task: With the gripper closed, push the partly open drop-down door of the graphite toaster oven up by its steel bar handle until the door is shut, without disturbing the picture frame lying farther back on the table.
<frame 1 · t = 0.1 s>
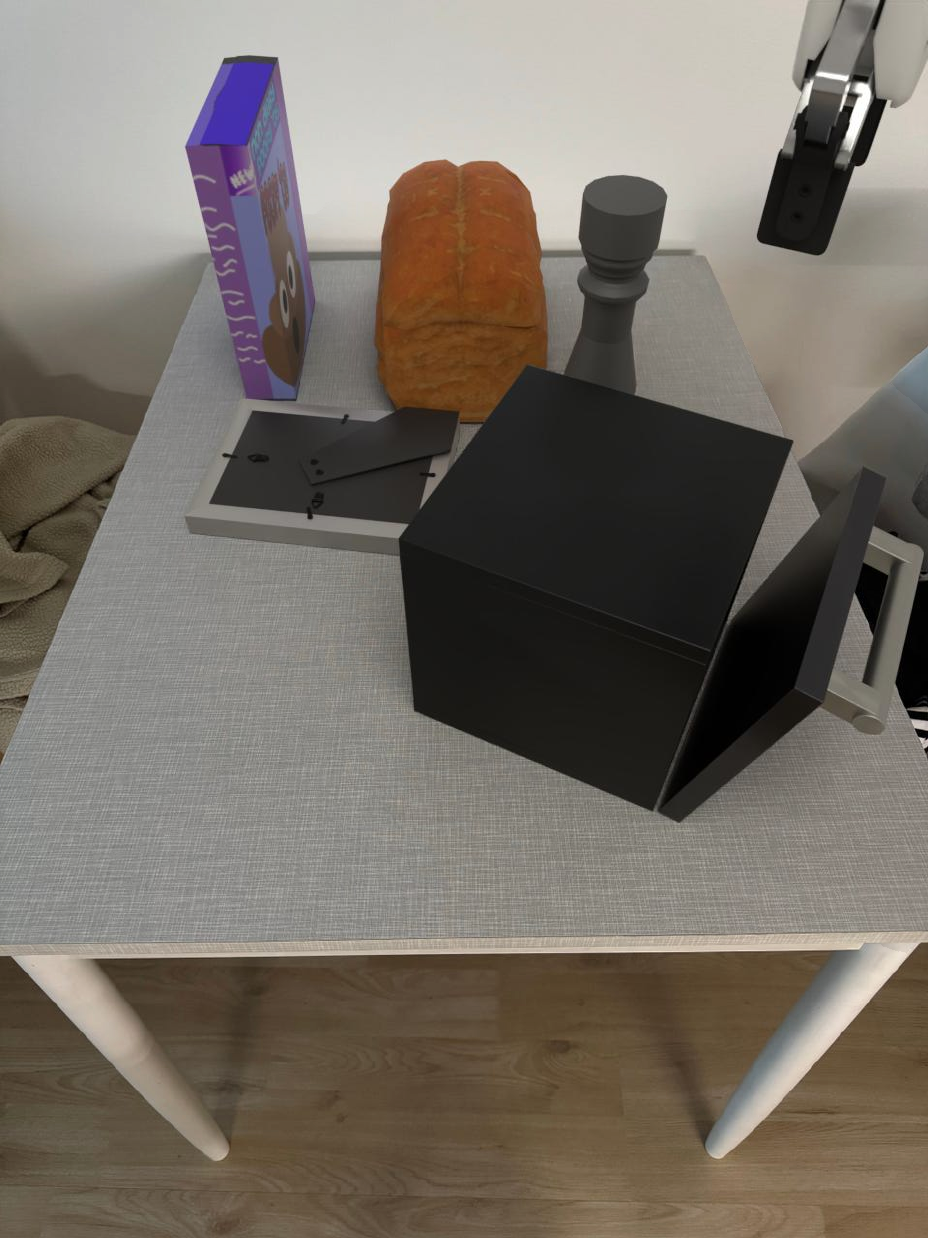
hand: (813, 200, 43), 32 cm above the table, tool pointing down, fingers open, 9 cm apart
bread: (460, 344, 91), on the table
oven: (576, 664, 66), on the table
picture frame: (331, 483, 78), on the table
candle holder: (585, 474, 79), on the table
oven door: (798, 668, 55), point 8 cm above the table, hinge at 13.1°
cereal box: (283, 349, 91), on the table
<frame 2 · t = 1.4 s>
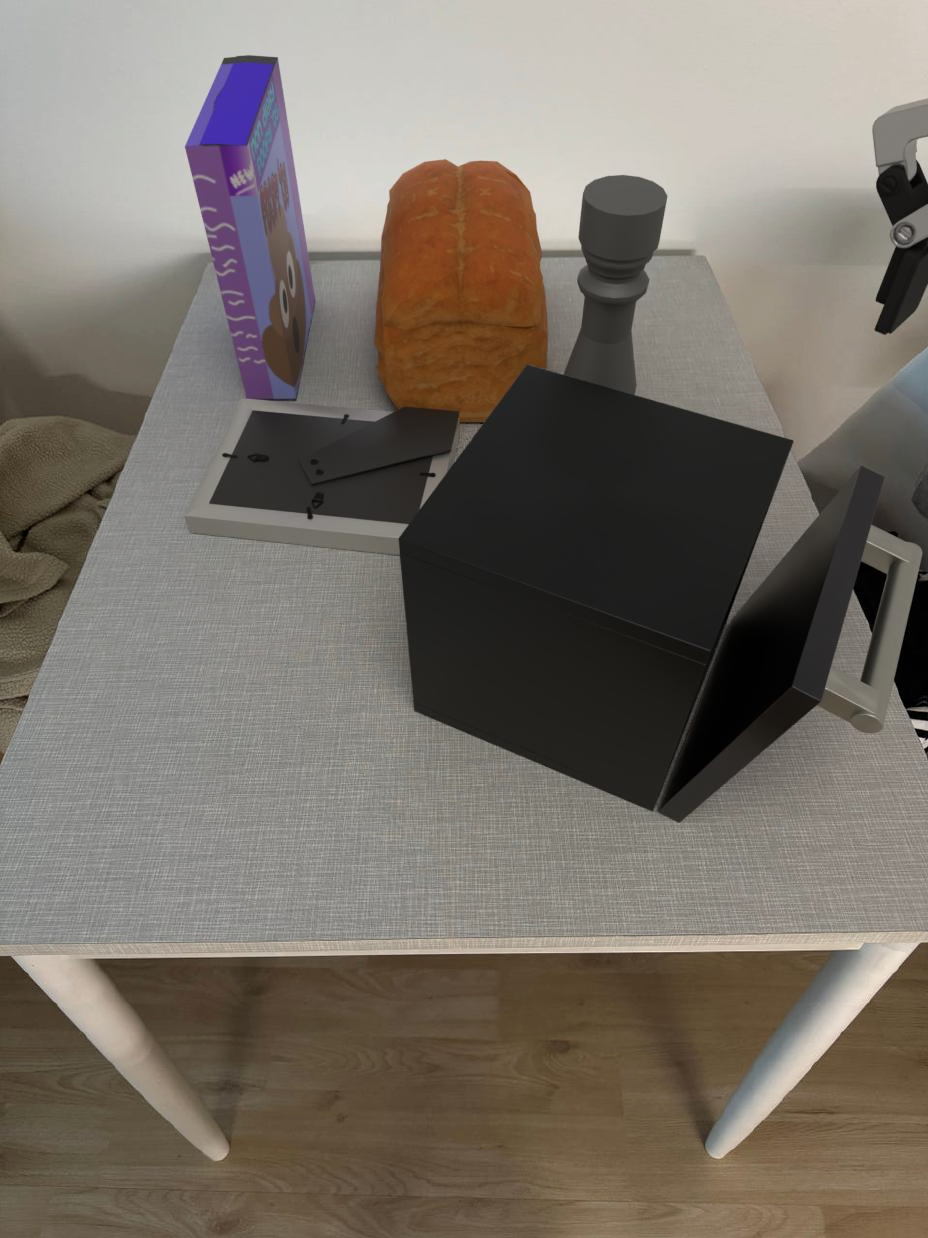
oven door: (797, 667, 55), point 8 cm above the table, hinge at 12.7°
everything else where it was.
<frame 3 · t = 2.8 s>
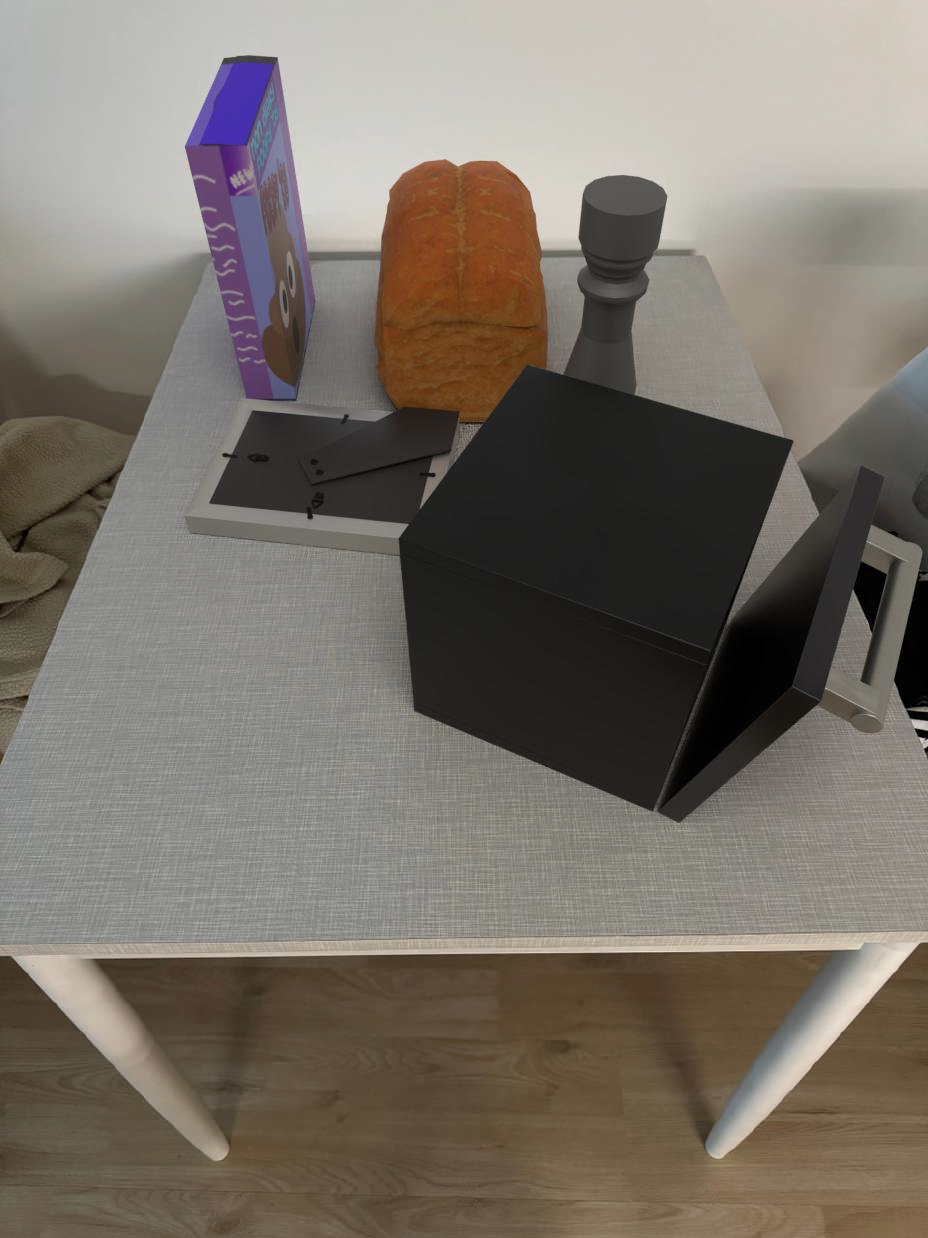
nothing on the table moved.
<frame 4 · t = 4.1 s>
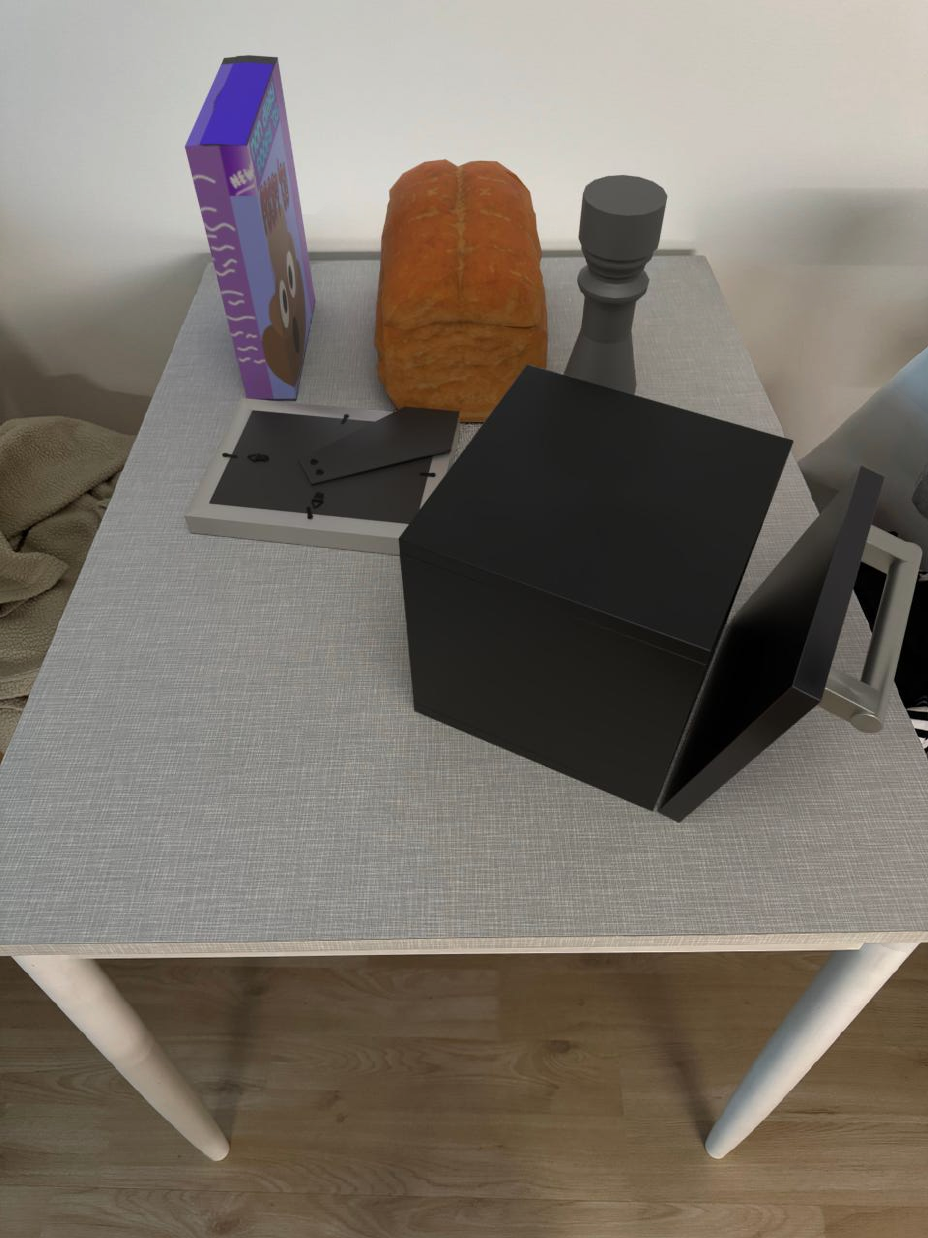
nothing on the table moved.
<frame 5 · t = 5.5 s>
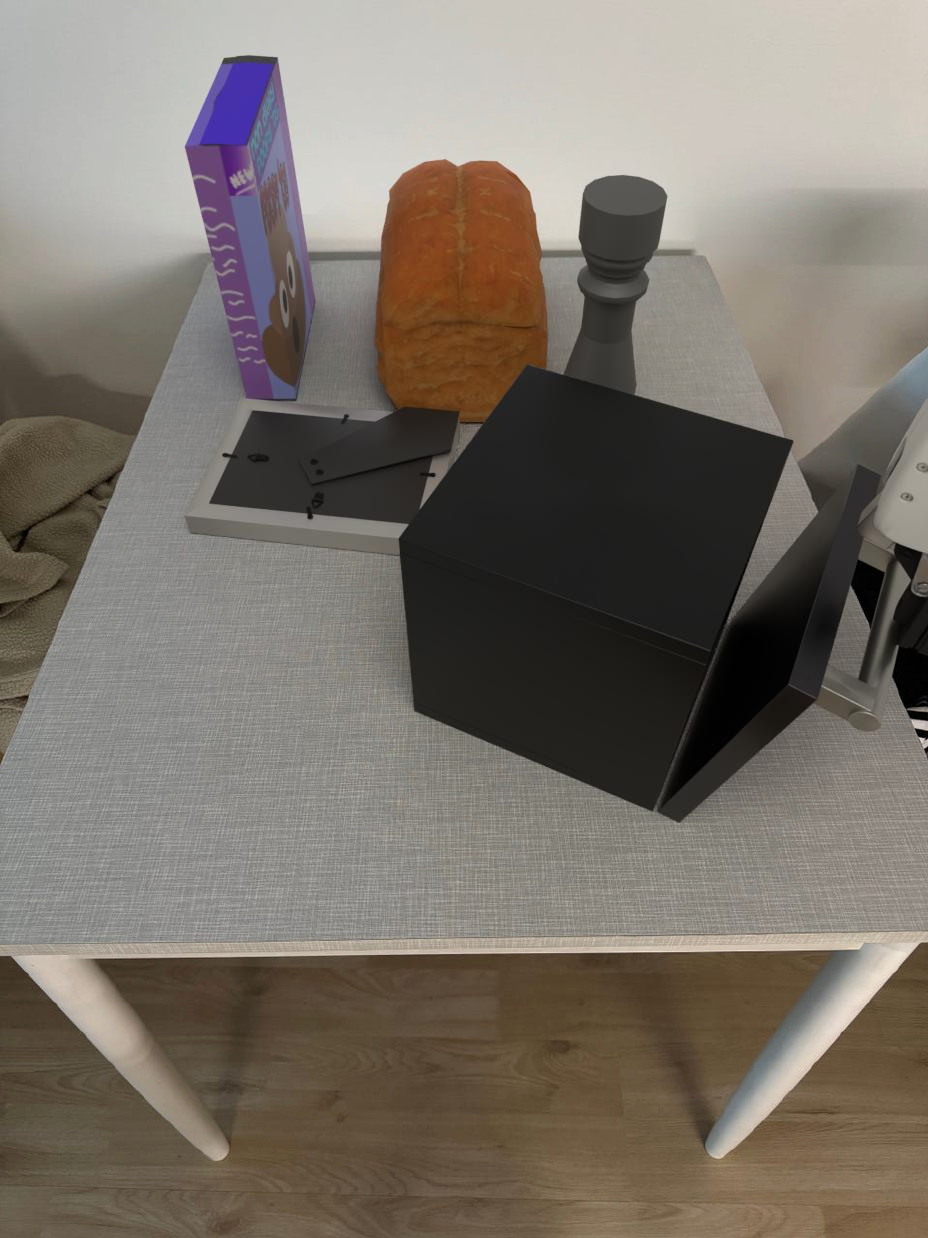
hand: (915, 631, 49), 15 cm above the table, tool pointing down, fingers closed
oven door: (796, 666, 55), point 8 cm above the table, hinge at 12.0°, touching gripper
everything else where it was.
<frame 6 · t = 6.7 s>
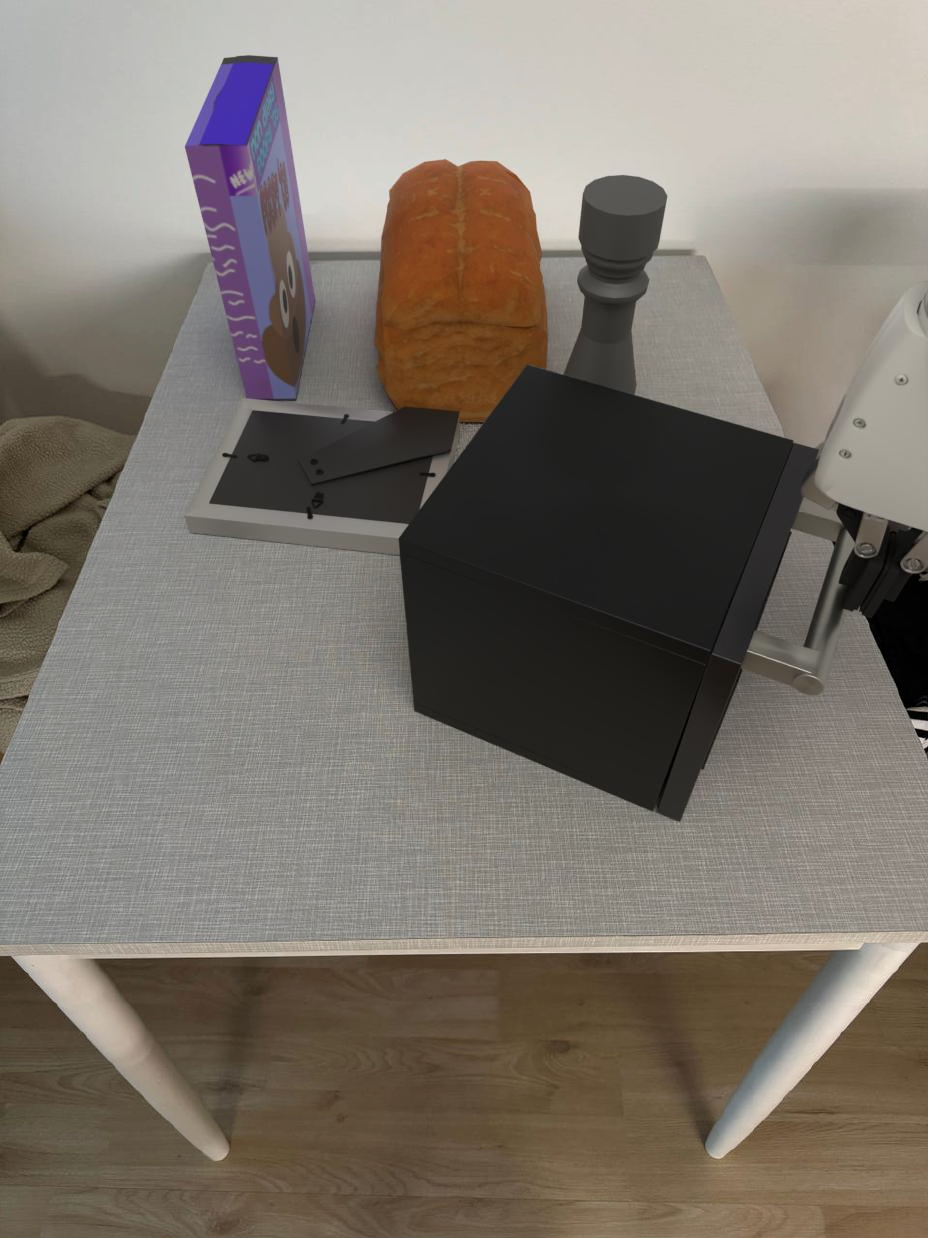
hand: (861, 595, 49), 16 cm above the table, tool pointing down, fingers closed
oven door: (768, 649, 55), point 9 cm above the table, hinge at -0.8°, touching gripper, oven
everything else where it was.
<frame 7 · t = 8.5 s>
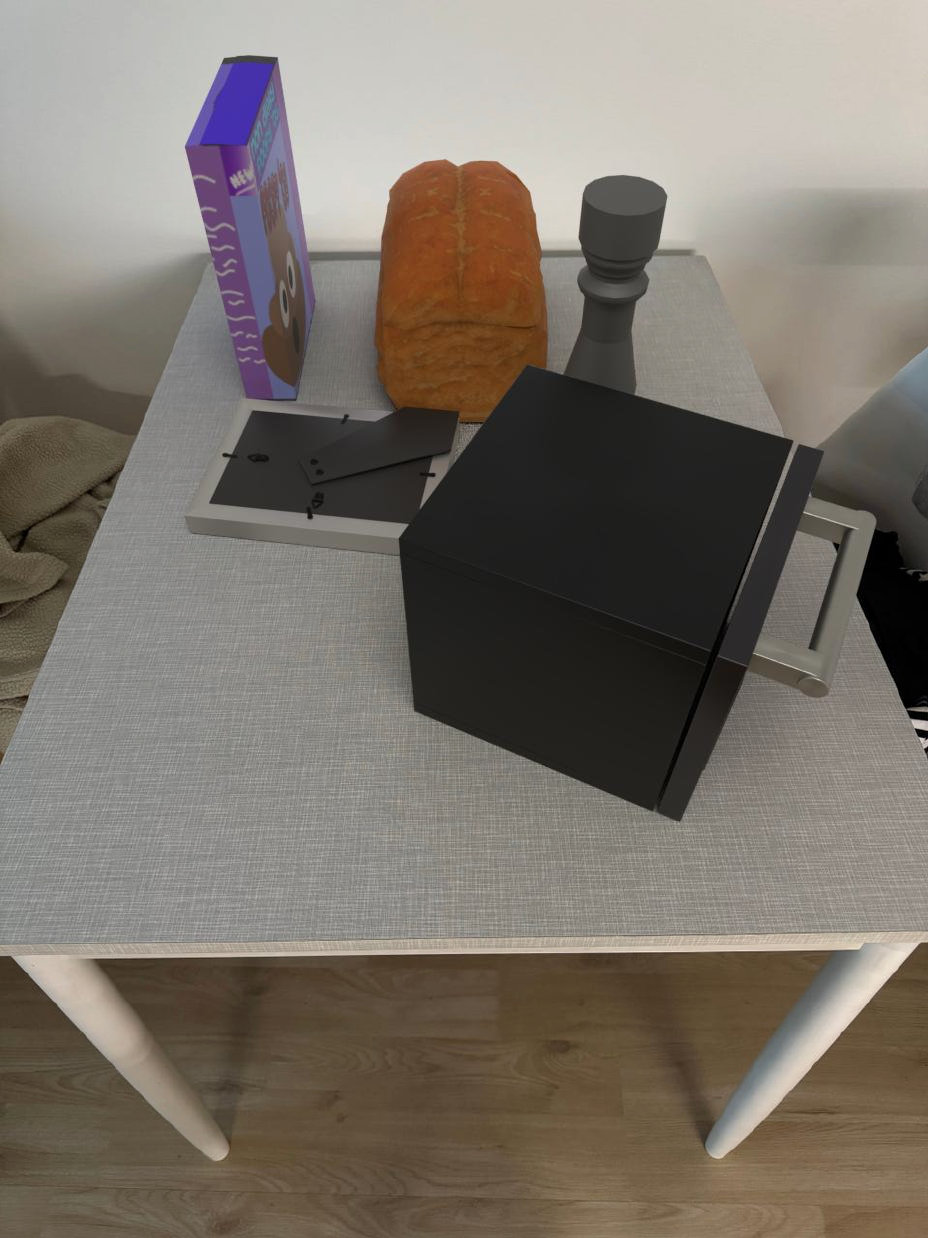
oven door: (771, 650, 55), point 9 cm above the table, hinge at 0.2°
everything else where it was.
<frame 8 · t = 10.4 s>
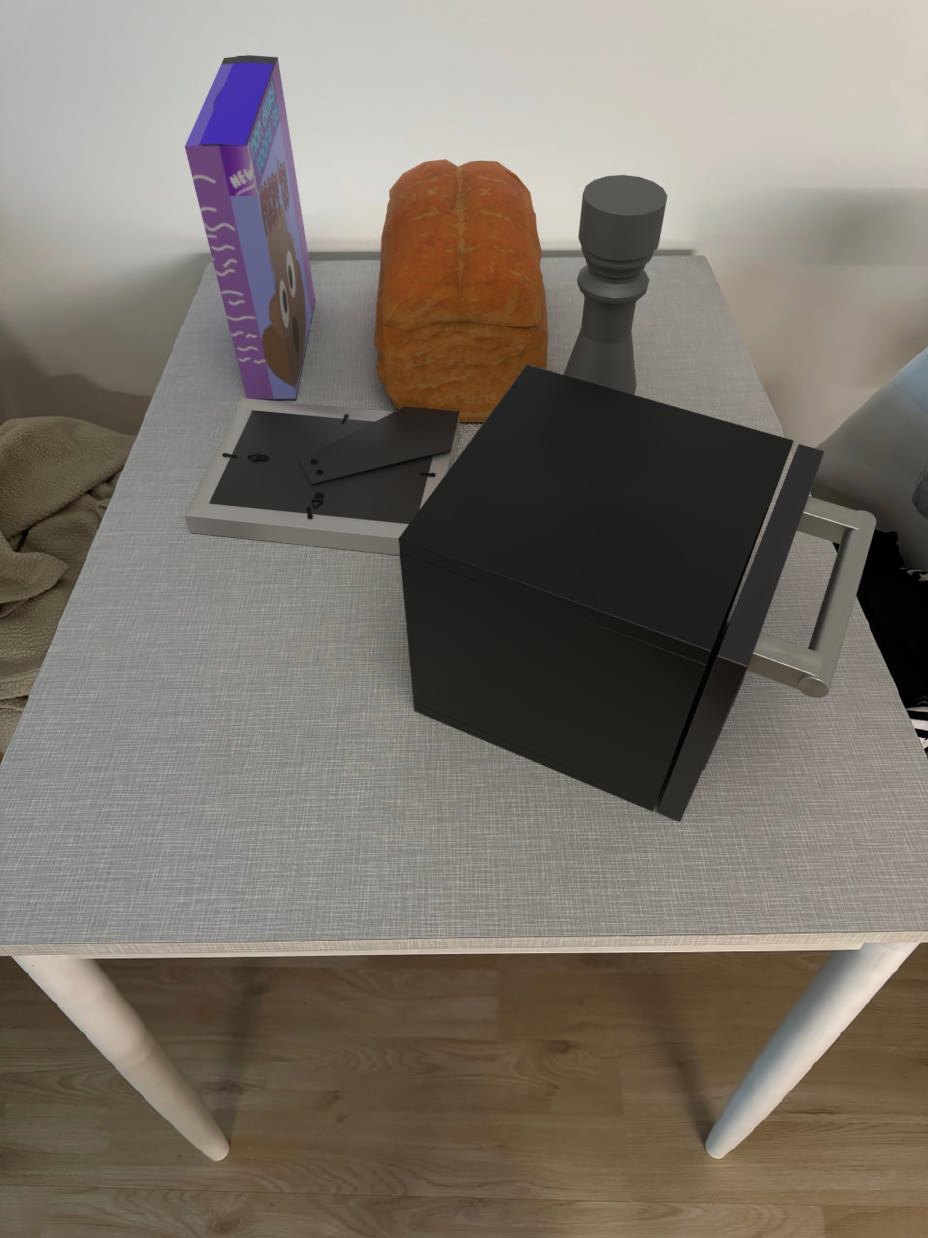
nothing on the table moved.
at the end: oven door at +0° (first picture: +14°); picture frame moved 0.2 cm from its start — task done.
